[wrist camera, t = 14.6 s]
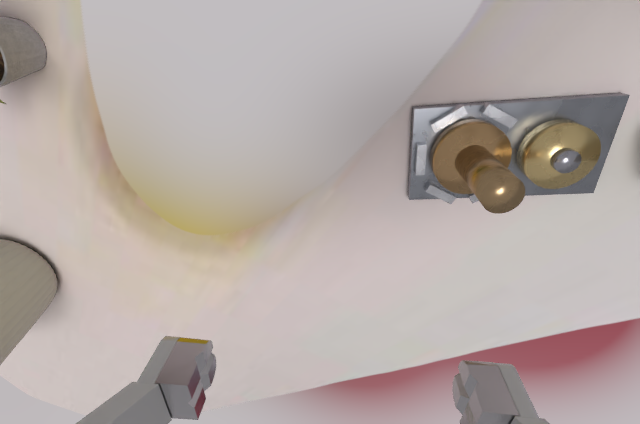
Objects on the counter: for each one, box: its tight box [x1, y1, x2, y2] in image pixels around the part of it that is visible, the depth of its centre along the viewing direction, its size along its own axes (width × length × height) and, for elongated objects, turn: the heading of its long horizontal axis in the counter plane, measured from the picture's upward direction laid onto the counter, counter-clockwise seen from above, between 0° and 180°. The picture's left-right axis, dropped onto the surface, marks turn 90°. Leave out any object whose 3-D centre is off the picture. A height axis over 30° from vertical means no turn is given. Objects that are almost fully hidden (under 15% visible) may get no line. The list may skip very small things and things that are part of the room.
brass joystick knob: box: [430, 119, 525, 213], centre depth 33 cm, size 8×8×10 cm
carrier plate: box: [408, 93, 629, 204], centre depth 36 cm, size 12×21×5 cm, turn 95°
